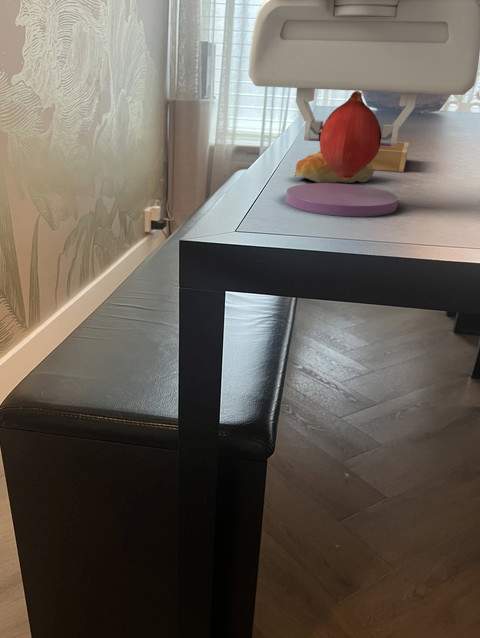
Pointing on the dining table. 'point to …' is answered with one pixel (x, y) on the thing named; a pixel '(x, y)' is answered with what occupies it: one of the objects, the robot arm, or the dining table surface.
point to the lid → (341, 199)
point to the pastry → (327, 171)
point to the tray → (391, 157)
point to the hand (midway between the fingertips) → (349, 143)
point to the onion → (350, 137)
